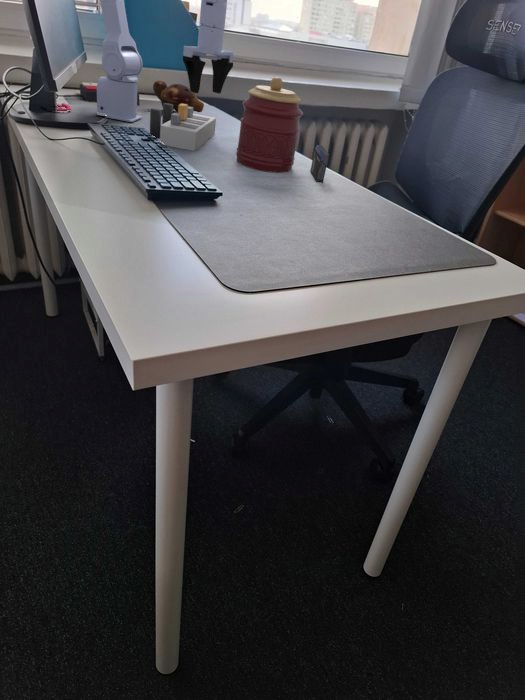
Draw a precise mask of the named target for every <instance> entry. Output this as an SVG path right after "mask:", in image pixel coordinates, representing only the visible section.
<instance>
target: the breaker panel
mask: <svg viewBox="0 0 525 700" xmlns="http://www.w3.org/2000/svg"><path fill="white" fill-rule="evenodd" d="M193 109H194V107H189V106H188V112H187V118H186V119H185V120H181V114H178V113H177V112H173V114H171V120H170V121H168V122H166V123H164V124H162V123H161V128H160V138H159V142H160V141H161V142H163V143H164V144H166V145H167V147H171V148H176V149H183V150H187V151H191V152H192V151H193V152H195V151H196V150H198V149H199V148H200V147H202V146H203V145H204V144H205V143H206V142H207V141H209V140H210V139H211V138H212V137H213V136H215V133H216V124H217V123H216V122H217V117H212V116H210V115H209V116H208V115H203V114H198V113H194V111H193ZM166 145H165V146H166Z"/></svg>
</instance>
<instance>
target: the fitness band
mask: <svg viewBox="0 0 525 700" xmlns="http://www.w3.org/2000/svg"><path fill="white" fill-rule="evenodd" d="M56 104H57V106H58V107H65V108H66V109H62V108H58V107H57V108H56V110H57V111H67V110H71V111H72V108H71V106H70V105H68V104H66V103H63V102H62V103H61V104H58V103H56Z"/></svg>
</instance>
